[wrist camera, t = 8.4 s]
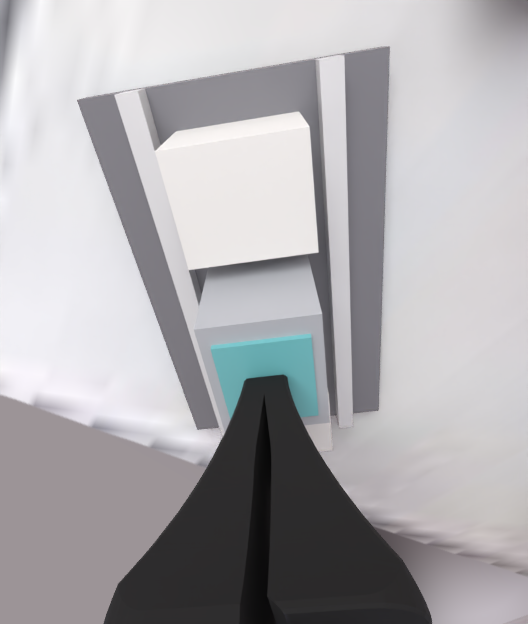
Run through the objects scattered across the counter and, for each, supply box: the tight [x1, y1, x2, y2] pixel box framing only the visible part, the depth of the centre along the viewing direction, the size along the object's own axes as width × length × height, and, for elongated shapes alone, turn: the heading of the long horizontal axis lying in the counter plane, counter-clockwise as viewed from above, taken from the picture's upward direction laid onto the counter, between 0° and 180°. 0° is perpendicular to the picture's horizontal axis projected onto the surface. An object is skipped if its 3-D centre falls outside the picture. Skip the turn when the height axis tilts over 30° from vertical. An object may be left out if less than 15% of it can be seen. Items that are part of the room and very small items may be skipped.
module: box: [194, 254, 330, 432], centre depth 16 cm, size 5×4×6 cm
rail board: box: [77, 47, 390, 452], centre depth 17 cm, size 18×11×4 cm, turn 8°
